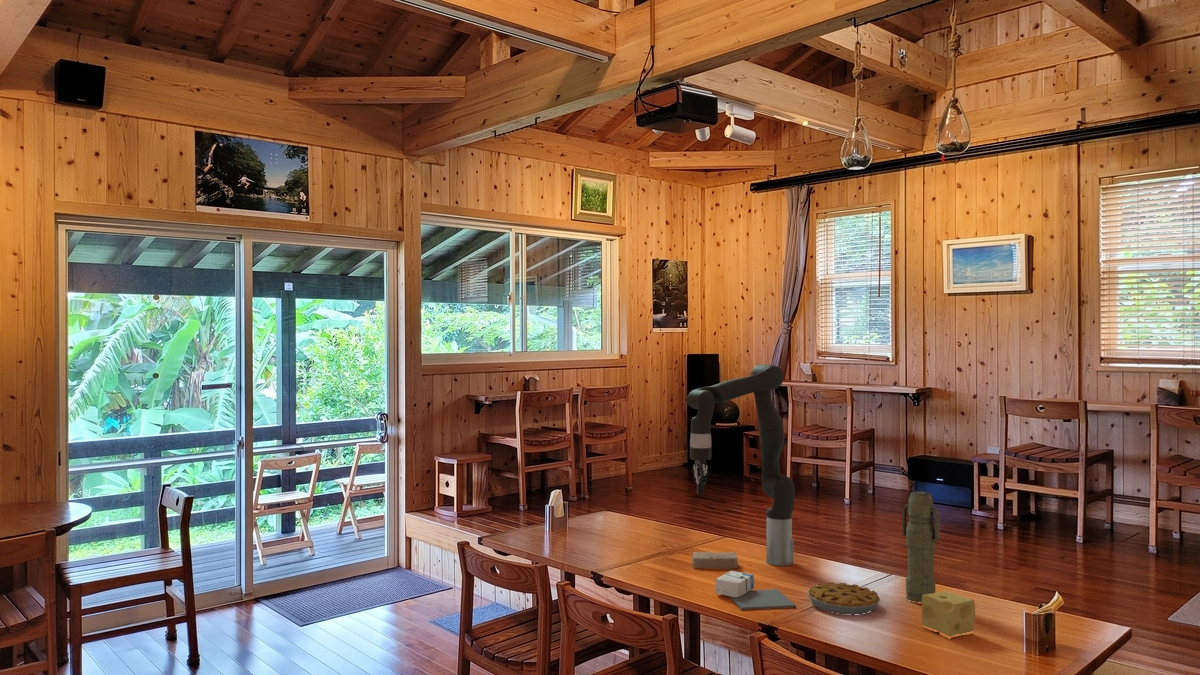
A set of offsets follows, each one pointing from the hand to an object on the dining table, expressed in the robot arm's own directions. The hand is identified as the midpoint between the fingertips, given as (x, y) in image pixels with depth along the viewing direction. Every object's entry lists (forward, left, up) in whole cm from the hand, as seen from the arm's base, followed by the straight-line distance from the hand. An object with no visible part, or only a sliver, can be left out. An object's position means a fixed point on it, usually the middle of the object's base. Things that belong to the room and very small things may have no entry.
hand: (700, 494), depth 280 cm
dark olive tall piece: (-64, +35, -29) cm, 79 cm away
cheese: (-57, +61, -29) cm, 88 cm away
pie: (-37, +36, -30) cm, 59 cm away
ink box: (-10, +16, -26) cm, 32 cm away
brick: (-9, -12, -30) cm, 33 cm away
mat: (-12, +28, -29) cm, 42 cm away
